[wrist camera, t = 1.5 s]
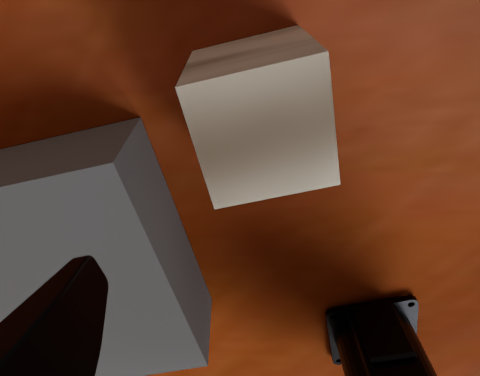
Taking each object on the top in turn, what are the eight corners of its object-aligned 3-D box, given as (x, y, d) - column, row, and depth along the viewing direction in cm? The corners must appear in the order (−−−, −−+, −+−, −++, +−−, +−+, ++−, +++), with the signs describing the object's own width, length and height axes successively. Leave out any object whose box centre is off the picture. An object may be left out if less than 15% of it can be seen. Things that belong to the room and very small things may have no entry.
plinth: (211, 299, 26) (207, 365, 21) (32, 330, 27) (-6, 398, 23) (140, 117, 18) (112, 162, 14) (-101, 172, 20) (-192, 228, 15)
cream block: (310, 125, 19) (340, 184, 14) (219, 145, 19) (214, 209, 14) (298, 24, 16) (328, 51, 11) (192, 50, 17) (174, 87, 12)
